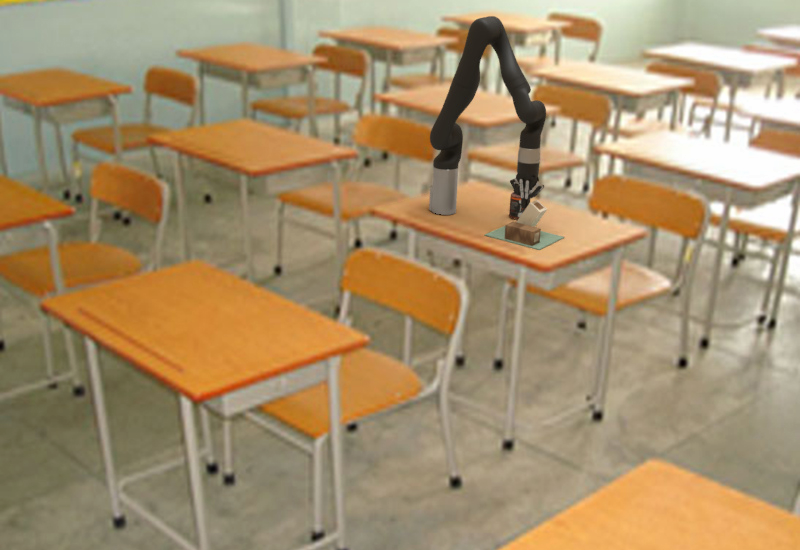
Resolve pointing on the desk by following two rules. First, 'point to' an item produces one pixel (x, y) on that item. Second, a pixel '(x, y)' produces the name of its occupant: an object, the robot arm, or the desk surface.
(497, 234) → the cutting mat
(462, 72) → the robot arm
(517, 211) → the supplement bottle
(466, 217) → the desk surface
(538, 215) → the cream block
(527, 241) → the walnut block
